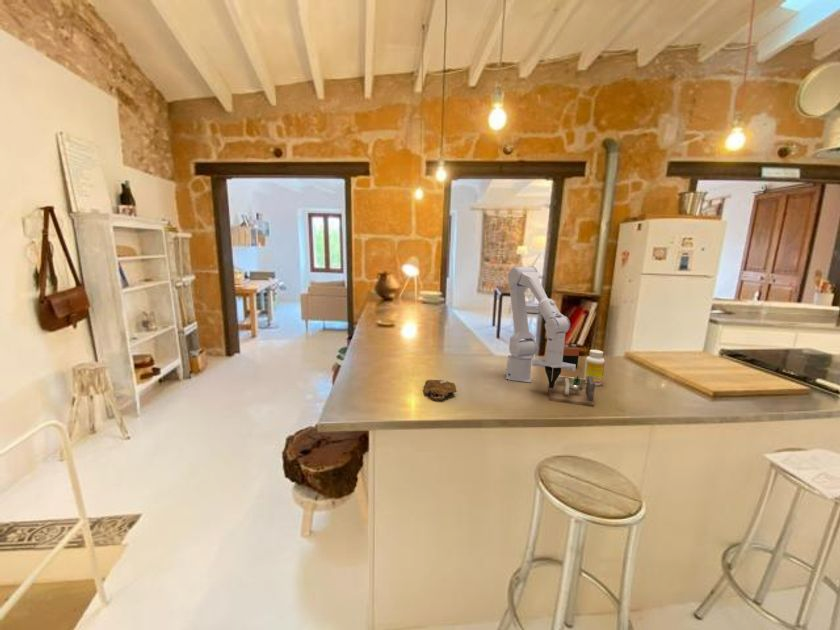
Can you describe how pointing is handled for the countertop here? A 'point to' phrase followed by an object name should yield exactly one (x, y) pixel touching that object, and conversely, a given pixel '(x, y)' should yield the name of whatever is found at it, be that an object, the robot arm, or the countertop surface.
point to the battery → (571, 354)
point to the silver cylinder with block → (571, 386)
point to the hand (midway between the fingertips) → (551, 387)
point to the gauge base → (573, 391)
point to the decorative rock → (439, 388)
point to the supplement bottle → (595, 366)
